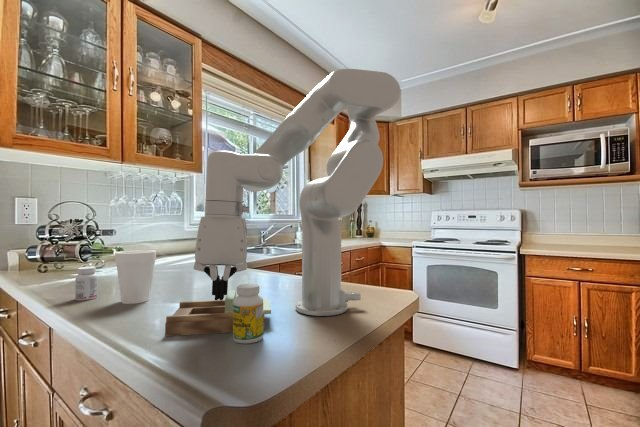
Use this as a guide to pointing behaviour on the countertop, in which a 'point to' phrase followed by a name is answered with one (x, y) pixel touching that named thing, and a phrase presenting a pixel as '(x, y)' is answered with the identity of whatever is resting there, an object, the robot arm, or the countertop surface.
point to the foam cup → (135, 274)
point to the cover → (232, 295)
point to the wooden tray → (200, 318)
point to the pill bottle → (86, 283)
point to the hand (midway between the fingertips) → (219, 298)
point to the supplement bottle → (247, 314)
